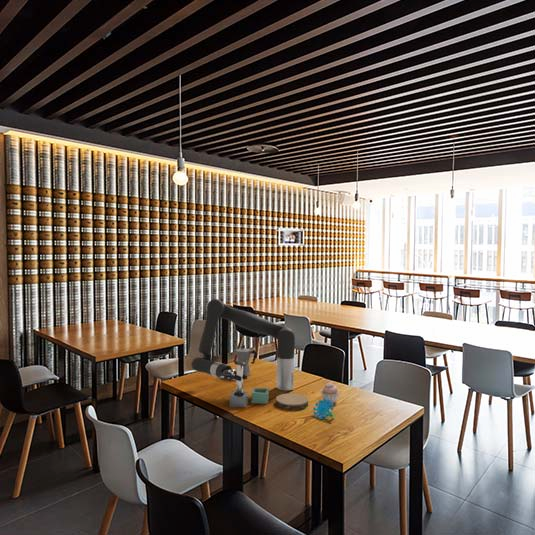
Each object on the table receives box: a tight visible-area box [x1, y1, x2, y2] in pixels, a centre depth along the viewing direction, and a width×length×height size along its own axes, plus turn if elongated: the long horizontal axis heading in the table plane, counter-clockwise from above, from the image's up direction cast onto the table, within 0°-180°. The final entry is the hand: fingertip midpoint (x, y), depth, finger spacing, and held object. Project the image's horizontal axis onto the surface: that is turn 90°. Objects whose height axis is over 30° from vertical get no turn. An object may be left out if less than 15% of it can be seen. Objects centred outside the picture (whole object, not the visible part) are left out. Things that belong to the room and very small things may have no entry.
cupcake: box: [320, 381, 340, 404], centre depth 208 cm, size 9×9×10 cm
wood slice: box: [275, 393, 309, 411], centre depth 203 cm, size 16×16×3 cm
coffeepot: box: [233, 344, 258, 377], centre depth 251 cm, size 15×9×18 cm, turn 70°
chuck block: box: [228, 390, 249, 408], centre depth 201 cm, size 8×8×5 cm
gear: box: [312, 398, 335, 420], centre depth 189 cm, size 11×6×10 cm
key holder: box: [251, 387, 270, 405], centre depth 207 cm, size 8×8×5 cm
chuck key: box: [233, 360, 246, 396], centre depth 201 cm, size 8×3×18 cm, turn 46°
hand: (243, 378), depth 199 cm, fingers closed on chuck key, 3 cm apart
